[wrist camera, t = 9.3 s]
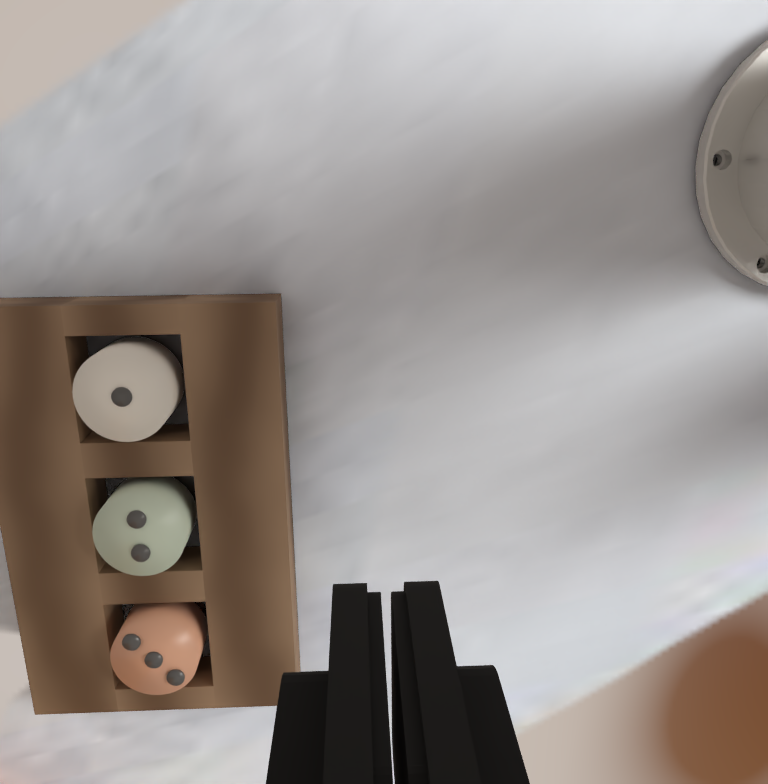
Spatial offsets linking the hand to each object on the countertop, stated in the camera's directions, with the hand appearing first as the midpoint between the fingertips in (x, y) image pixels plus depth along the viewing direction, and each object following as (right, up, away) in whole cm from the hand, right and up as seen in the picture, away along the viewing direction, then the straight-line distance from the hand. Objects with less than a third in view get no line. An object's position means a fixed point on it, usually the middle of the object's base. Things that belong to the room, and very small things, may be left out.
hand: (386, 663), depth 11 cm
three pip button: (-12, -9, +27) cm, 31 cm away
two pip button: (-12, -2, +25) cm, 28 cm away
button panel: (-12, -2, +26) cm, 29 cm away
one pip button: (-12, +5, +23) cm, 27 cm away
